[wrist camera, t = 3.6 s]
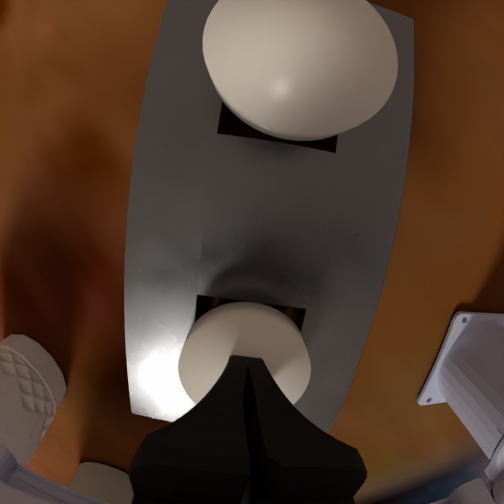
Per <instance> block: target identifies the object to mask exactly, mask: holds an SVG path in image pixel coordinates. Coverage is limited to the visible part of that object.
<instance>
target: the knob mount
mask: <svg viewBox="0 0 504 504" xmlns="http://www.w3.org/2000/svg"><path fill="white" fill-rule="evenodd" d="M218 1H219V0H168V3H167V6H166V9H165V12H164V16H163V19H162V22H161V26H160V29H159V33H158V36H157V40H156V44H155V48H154V51H153V55H152V59H151V64H150V68H149V72H148V77H147V81H146V86H145V91H144V96H143V101H142V106H141V111H140V117H139V123H138V129H137V135H136V141H135V148H134V155H133V163H132V171H131V180H130V189H129V200H128V212H127V226H126V244H125V274H124V311H125V341H126V359H127V372H128V384H129V394H130V403H131V412H132V413H134V414H138V415H142V416H147V417H151V418H156V419H160V420H165V421H170V422H173V421H175V420H177V419H178V418H180V417H181V416H183V415H184V414H185V413H187V412H188V411H189V410H190V409H191V408H193V407H194V406H195V405H196V404H195V403H194V402H193V401H192V400H191V399H190V398H189V396H188V395H187V394H186V392H185V391H184V389H183V387H182V385H181V382H180V379H179V374H178V362H179V357H180V354H181V351H182V348H183V345H184V342H185V340H186V337H187V335H188V332H189V330H190V329H191V327H192V326H193V324H194V323H195V322H196V321H197V320H198V319H199V318H200V317H201V314H202V304H203V295H205V296H211V297H218V298H225V299H232V300H240V301H247V302H255V303H263V304H271V305H279V306H288V307H292V312H291V317H290V319H291V320H292V321H293V322H294V323H295V325H296V326H297V328H298V329H299V330H300V333H301V335H302V337H303V340H304V343H305V346H306V349H307V352H308V355H309V359H310V364H311V375H310V380H309V383H308V386H307V388H306V390H305V391H304V393H303V395H302V396H301V397H300V398H299V400H298V401H297V402H296V403H294V404H293V405H294V406H295V408H296V409H297V410H298V411H299V412H300V413H301V414H303V415H304V416H305V417H306V418H307V419H308V420H310V421H311V422H312V423H313V424H315V425H316V426H317V427H318V428H320V429H321V430H323V431H324V432H326V433H327V434H330V431H331V429H332V427H333V425H334V422H335V420H336V418H337V416H338V413H339V411H340V409H341V406H342V404H343V401H344V399H345V396H346V394H347V391H348V389H349V386H350V384H351V381H352V379H353V376H354V373H355V371H356V368H357V365H358V362H359V360H360V357H361V354H362V351H363V348H364V345H365V342H366V339H367V336H368V333H369V330H370V327H371V324H372V321H373V317H374V314H375V311H376V307H377V304H378V300H379V297H380V293H381V290H382V286H383V282H384V278H385V275H386V271H387V267H388V263H389V258H390V254H391V250H392V245H393V241H394V236H395V231H396V227H397V222H398V216H399V211H400V206H401V200H402V194H403V188H404V182H405V175H406V168H407V160H408V152H409V144H410V134H411V123H412V110H413V93H414V20H413V19H411V18H409V17H407V16H404V15H402V14H399V13H397V12H394V11H392V10H389V9H386V8H384V7H381V6H378V5H375V4H372V3H369V2H368V3H369V4H370V5H371V6H373V7H374V8H375V10H376V11H377V12H378V13H379V15H380V16H381V17H382V19H383V20H384V22H385V23H386V25H387V26H388V28H389V31H390V33H391V35H392V37H393V40H394V43H395V46H396V51H397V57H398V71H397V78H396V82H395V86H394V89H393V91H392V93H391V95H390V97H389V99H388V100H387V101H386V103H385V104H384V106H383V107H382V108H381V109H380V110H379V111H378V112H377V113H376V114H375V115H374V116H372V117H371V118H370V119H368V120H367V121H365V122H363V123H362V124H360V125H358V126H356V127H353V128H351V129H349V130H347V131H344V132H342V133H340V134H337V135H335V136H332V137H328V138H324V139H322V144H321V150H318V149H313V148H308V147H302V146H297V145H291V144H286V143H280V142H274V141H268V140H261V139H254V138H247V137H240V136H232V135H224V131H225V125H226V118H227V112H228V107H227V106H226V105H225V104H224V102H223V101H222V99H221V98H220V96H219V95H218V93H217V91H216V89H215V87H214V84H213V82H212V79H211V77H210V74H209V71H208V68H207V66H206V63H205V59H204V54H203V33H204V27H205V24H206V21H207V18H208V16H209V15H210V13H211V11H212V9H213V8H214V6H215V5H216V4H217V2H218Z"/></svg>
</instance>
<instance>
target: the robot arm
mask: <svg viewBox="0 0 504 504" xmlns="http://www.w3.org/2000/svg"><path fill="white" fill-rule="evenodd" d="M463 318H464V319H463ZM417 402H418V404H419V405H428V404H435V403H442V402H447V403H448V404H449V405H450V407H451V408H452V409H453V411H454V412H455V413H456V415H457V416H458V417H459V419H460V420H461V421H462V423H463V424H464V425H465V427H466V428H467V429H468V431H469V432H470V433H471V435H472V436H473V438H474V439H475V440H476V442H477V443H478V445H479V446H480V447H481V449H482V450H483V452H484V453H485V454H486V456H487V457H488V459H489V460H490V464H489V465H488V466H487V468H486V469H485V470H484V471H485V473H486V474H487V476H488V477H489V479H490V480H489V481H488V483H487V485H486V487H485V485H484V483H483V482H482V480H481V479H480V478H477V479H475V480H472V481H470V482H468V483H465V484H463V485H461V486H459V487H458V488H456V489H455V490H454V491H453V492H452V493H451V494H450V496H449V497H448V498H445V499H443V500H440V501H437V502H434V503H431V504H504V314H500V313H480V312H462V311H459V312H457V313H456V314H455V315H454V316H453V319H452V321H451V324H450V327H449V330H448V332H447V335H446V337H445V340H444V342H443V345H442V347H441V350H440V352H439V354H438V357H437V359H436V361H435V364H434V366H433V368H432V370H431V373H430V375H429V377H428V379H427V381H426V383H425V385H424V387H423V389H422V391H421V393H420V395H419V397H418V399H417ZM366 478H367V470H366V468H365V465H364V462H363V460H362V458H361V456H360V454H359V452H358V450H357V449H356V448H354V447H352V446H349V445H347V444H345V443H343V442H341V441H339V440H337V439H336V438H334V437H332V436H331V435H329V434H327V433H326V432H324V431H323V430H321V429H320V428H318V427H317V426H316V425H315V424H313V423H312V422H311V421H310V420H308V419H307V418H306V417H305V416H304V415H303V414H301V413H300V412H299V411H298V410H297V409H296V408H295V406H294V405H293V404H292V403H291V402H290V401H289V399H288V398H287V397H286V396H285V394H284V393H283V392H282V390H281V389H280V388H279V386H278V385H277V383H276V382H275V380H274V378H273V377H272V375H271V373H270V372H269V370H268V368H267V366H266V364H265V362H264V360H263V359H262V358H255V357H246V356H238V355H231V356H229V360H228V363H227V365H226V367H225V369H224V371H223V372H222V374H221V375H220V377H219V379H218V380H217V382H216V383H215V384H214V385H213V387H212V388H211V389H210V391H209V392H208V393H207V394H206V395H205V396H204V397H203V398H202V399H201V400H200V401H199V402H198V403H197V404H196V405H195V406H194V407H193V408H191V409H190V410H189V411H188V412H187V413H185V414H184V415H183V416H181V417H180V418H178V419H177V420H175V421H173V422H172V423H170V424H169V425H167V426H165V427H163V428H161V429H159V430H157V431H155V432H153V433H150V434H148V435H147V436H146V437H145V439H144V440H143V441H142V443H141V444H140V446H139V447H138V449H137V451H136V453H135V455H134V457H133V459H132V462H131V465H130V468H129V479H130V483H131V486H132V490H133V493H134V496H133V499H132V503H131V504H355V502H354V499H353V496H354V495H355V494H356V493H357V491H358V490H359V489H360V487H361V486H362V485H363V483H364V482H365V480H366ZM0 504H110V503H107V502H104V501H101V500H98V499H95V498H93V497H90V496H87V495H84V494H82V493H79V492H77V491H74V490H72V489H69V488H67V487H65V486H62V485H60V484H58V483H55V482H53V481H51V480H49V479H47V478H45V477H43V476H41V475H39V474H37V473H35V472H33V471H31V470H29V469H27V468H25V467H23V466H21V465H20V464H18V463H17V461H16V459H15V457H14V455H13V454H12V453H11V452H10V451H9V450H8V449H7V448H6V447H4V446H3V445H1V444H0Z"/></svg>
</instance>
